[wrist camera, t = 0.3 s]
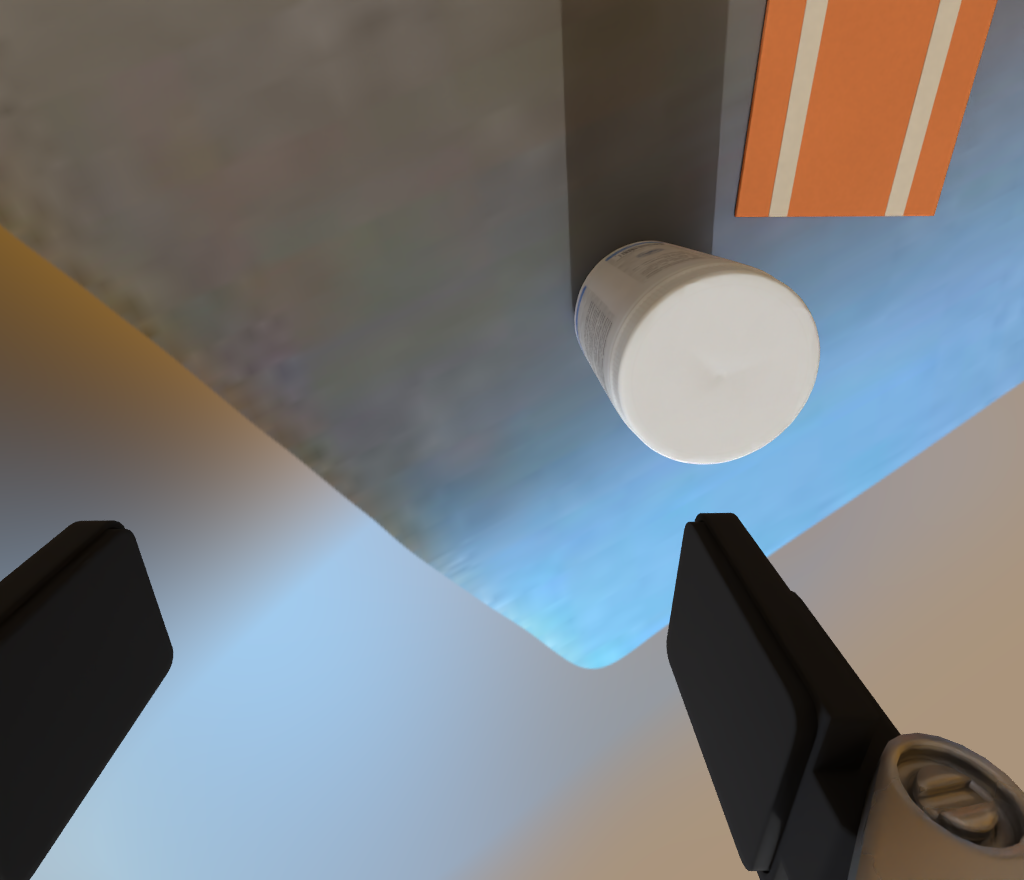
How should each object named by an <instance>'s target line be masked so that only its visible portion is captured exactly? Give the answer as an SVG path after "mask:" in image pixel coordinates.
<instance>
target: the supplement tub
mask: <svg viewBox="0 0 1024 880" xmlns="http://www.w3.org/2000/svg"><path fill="white" fill-rule="evenodd" d="M574 323H575V330H576V336H577V339H578V342H579V345H580V347H581V349H582V351H583V353H584V355H585V356H586V358H587V360H588V362H589V364H590V365H591V367H592V369H593V371H594V372H595V374H596V376H597V378H598V379H599V381H600V383H601V385H602V386H603V388H604V390H605V391H606V393H607V395H608V397H609V398H610V400H611V402H612V404H613V405H614V407H615V409H616V410H617V412H618V413H619V415H620V417H621V418H622V419H623V421H624V422H625V423H626V425H627V426H628V427H629V428H630V429H631V430H632V431H633V432H634V433H635V434H636V435H637V436H638V437H639V438H640V439H641V440H642V441H643V442H644V443H645V444H646V445H647V446H648V447H650V448H651V449H652V450H654V451H656V452H657V453H659V454H661V455H663V456H665V457H667V458H670V459H673V460H676V461H680V462H684V463H690V464H716V463H723V462H728V461H731V460H735V459H738V458H741V457H743V456H746V455H748V454H750V453H752V452H754V451H756V450H758V449H760V448H762V447H763V446H765V445H766V444H768V443H769V442H771V441H772V440H774V439H775V438H776V437H777V436H779V435H780V434H781V433H782V432H783V431H784V430H785V429H786V428H787V427H788V426H789V425H790V424H791V423H792V421H793V420H794V419H795V418H796V417H797V415H798V414H799V412H800V411H801V410H802V408H803V407H804V405H805V403H806V401H807V400H808V397H809V395H810V393H811V391H812V389H813V386H814V383H815V380H816V376H817V372H818V367H819V360H820V344H819V336H818V332H817V328H816V324H815V322H814V319H813V317H812V315H811V313H810V311H809V309H808V308H807V306H806V305H805V303H804V302H803V301H802V299H801V298H800V297H799V296H798V295H797V294H796V293H795V292H794V291H793V290H792V289H791V288H790V287H788V286H787V285H785V284H784V283H782V282H780V281H779V280H777V279H775V278H774V277H772V276H771V275H769V274H767V273H765V272H764V271H762V270H759V269H757V268H754V267H751V266H748V265H744V264H741V263H738V262H735V261H731V260H728V259H724V258H720V257H717V256H713V255H710V254H706V253H702V252H699V251H695V250H692V249H688V248H684V247H681V246H677V245H674V244H670V243H665V242H660V241H641V242H636V243H632V244H628V245H626V246H623V247H621V248H619V249H617V250H615V251H613V252H612V253H610V254H609V255H607V256H606V257H605V258H603V259H602V260H601V261H600V262H599V263H598V264H597V265H596V266H595V267H594V268H593V269H592V271H591V272H590V273H589V275H588V276H587V278H586V280H585V281H584V283H583V285H582V287H581V290H580V292H579V295H578V299H577V303H576V308H575V321H574Z"/></svg>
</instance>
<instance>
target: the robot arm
mask: <svg viewBox="0 0 1024 880" xmlns="http://www.w3.org/2000/svg"><path fill="white" fill-rule="evenodd" d="M667 654H668V659H669V663H670V665H671V668H672V671H673V674H674V676H675V679H676V682H677V685H678V687H679V690H680V693H681V696H682V699H683V701H684V704H685V707H686V710H687V712H688V715H689V718H690V720H691V723H692V726H693V729H694V732H695V734H696V737H697V740H698V743H699V746H700V748H701V751H702V754H703V757H704V759H705V762H706V765H707V768H708V770H709V773H710V775H711V779H712V781H713V784H714V787H715V790H716V792H717V795H718V798H719V801H720V803H721V806H722V809H723V812H724V815H725V817H726V820H727V822H728V825H729V828H730V831H731V834H732V837H733V839H734V842H735V845H736V848H737V850H738V853H739V856H740V858H741V861H742V863H743V865H744V866H745V868H746V869H747V870H748V871H757V873H758V876H759V878H760V880H1024V792H1023V791H1022V790H1021V789H1020V788H1019V787H1018V786H1017V785H1016V784H1015V783H1014V782H1013V781H1012V780H1011V779H1010V778H1009V777H1008V775H1006V774H1005V773H1004V772H1002V771H1001V770H1000V769H999V768H997V767H996V766H995V765H993V764H992V763H991V762H989V761H988V760H987V759H986V758H984V757H982V756H980V755H979V754H977V753H975V752H973V751H971V750H970V749H968V748H966V747H964V746H963V745H960V744H958V743H955V742H952V741H950V740H947V739H944V738H941V737H939V736H933V735H927V734H921V733H913V734H903V735H901V734H900V733H899V732H898V730H897V729H896V728H895V726H894V725H893V724H892V722H891V721H890V720H889V718H888V717H887V715H886V714H885V713H884V712H883V710H882V709H881V707H880V706H879V704H878V703H877V702H876V700H875V699H874V698H873V696H872V695H871V694H870V692H869V691H868V689H867V688H866V687H865V685H864V684H863V683H862V681H861V680H860V679H859V677H858V676H857V674H856V673H855V672H854V670H853V669H852V668H851V666H850V665H849V664H848V662H847V661H846V659H845V658H844V657H843V655H842V654H841V653H840V651H839V650H838V648H837V647H836V646H835V644H834V643H833V642H832V640H831V639H830V638H829V636H828V635H827V634H826V632H825V631H824V629H823V628H822V627H821V625H820V624H819V623H818V621H817V620H816V618H815V617H814V616H813V614H812V613H811V612H810V611H809V609H808V608H807V606H806V605H805V603H804V602H803V601H802V599H801V598H800V597H799V596H798V595H797V594H796V593H795V592H793V591H790V589H789V588H788V586H787V585H786V584H785V582H784V581H783V580H782V578H781V577H780V575H779V574H778V573H777V571H776V570H775V568H774V567H773V566H772V564H771V563H770V562H769V560H768V559H767V557H766V556H765V555H764V553H763V552H762V550H761V549H760V548H759V546H758V545H757V543H756V542H755V541H754V539H753V538H752V537H751V535H750V534H749V532H748V531H747V530H746V528H745V527H744V525H743V524H742V523H741V521H740V520H739V519H738V517H737V516H736V515H735V514H733V513H700V514H698V515H697V517H696V519H695V522H688V523H687V524H686V526H685V529H684V535H683V541H682V547H681V554H680V560H679V566H678V572H677V579H676V585H675V591H674V597H673V604H672V610H671V616H670V622H669V629H668V635H667ZM172 660H173V648H172V645H171V642H170V639H169V636H168V633H167V630H166V627H165V625H164V621H163V618H162V615H161V613H160V609H159V607H158V604H157V601H156V598H155V595H154V592H153V589H152V586H151V583H150V580H149V577H148V574H147V571H146V568H145V566H144V562H143V559H142V556H141V553H140V551H139V548H138V545H137V542H136V539H135V536H134V535H133V533H132V532H131V531H130V530H128V529H125V528H124V526H123V525H122V524H121V523H120V522H117V521H78V522H75V523H73V524H71V525H70V526H68V527H67V528H66V529H65V530H63V531H62V532H61V533H60V534H58V535H57V536H56V537H55V538H53V539H52V540H51V541H50V542H49V543H48V544H46V545H45V546H44V547H42V548H41V549H40V550H39V551H37V552H36V553H35V554H34V555H33V556H31V557H30V558H29V559H28V560H26V561H25V562H24V563H23V564H21V565H20V566H19V567H18V568H16V569H15V570H14V571H13V572H12V573H10V574H9V575H8V576H7V577H5V578H4V579H3V580H2V581H1V582H0V880H30V878H31V877H32V876H33V874H34V873H35V871H36V870H37V868H38V867H39V865H40V864H41V862H42V861H43V859H44V858H45V856H46V855H47V853H48V852H49V850H50V849H51V847H52V846H53V844H54V843H55V841H56V840H57V838H58V837H59V835H60V834H61V832H62V831H63V829H64V828H65V826H66V825H67V823H68V822H69V820H70V819H71V817H72V816H73V814H74V813H75V811H76V810H77V808H78V807H79V805H80V804H81V802H82V801H83V799H84V798H85V796H86V795H87V793H88V792H89V790H90V788H91V787H92V786H93V784H94V783H95V781H96V780H97V778H98V777H99V775H100V774H101V772H102V771H103V769H104V768H105V766H106V765H107V763H108V762H109V760H110V759H111V757H112V755H113V754H114V753H115V751H116V750H117V748H118V746H119V745H120V744H121V742H122V741H123V739H124V738H125V736H126V735H127V733H128V732H129V730H130V729H131V727H132V726H133V724H134V722H135V721H136V720H137V718H138V716H139V715H140V713H141V712H142V711H143V709H144V708H145V706H146V704H147V703H148V701H149V700H150V698H151V697H152V695H153V694H154V693H155V691H156V689H157V688H158V687H159V685H160V684H161V682H162V681H163V679H164V677H165V676H166V675H167V673H168V671H169V669H170V667H171V664H172Z"/></svg>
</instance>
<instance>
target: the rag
mask: <svg viewBox="0 0 1024 880" xmlns="http://www.w3.org/2000/svg"><path fill="white" fill-rule="evenodd" d="M996 3H997V0H768V1H767V8H766V14H765V21H764V27H763V34H762V40H761V47H760V53H759V60H758V66H757V73H756V79H755V86H754V92H753V99H752V106H751V112H750V119H749V125H748V132H747V138H746V145H745V151H744V158H743V164H742V171H741V177H740V184H739V190H738V197H737V203H736V210H735V217H799V216H934V214H935V210H936V207H937V204H938V200H939V197H940V193H941V190H942V187H943V183H944V180H945V176H946V173H947V170H948V166H949V163H950V159H951V156H952V153H953V149H954V146H955V142H956V139H957V136H958V132H959V129H960V125H961V122H962V119H963V115H964V112H965V108H966V105H967V102H968V98H969V95H970V91H971V88H972V85H973V81H974V78H975V74H976V71H977V68H978V64H979V61H980V57H981V54H982V51H983V47H984V44H985V40H986V37H987V34H988V30H989V27H990V23H991V20H992V17H993V13H994V10H995V6H996Z"/></svg>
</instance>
